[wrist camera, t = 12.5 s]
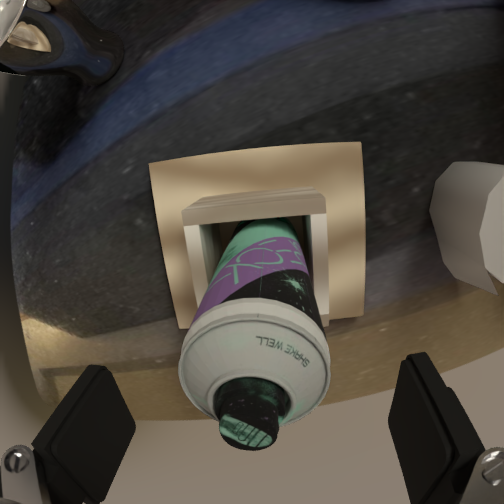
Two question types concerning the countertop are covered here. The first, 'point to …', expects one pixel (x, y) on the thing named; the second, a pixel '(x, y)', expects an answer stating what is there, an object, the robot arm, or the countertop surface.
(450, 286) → the countertop surface
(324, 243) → the can caddy
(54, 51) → the beer glass
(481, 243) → the toilet tissue
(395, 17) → the countertop surface
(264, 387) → the spray can
